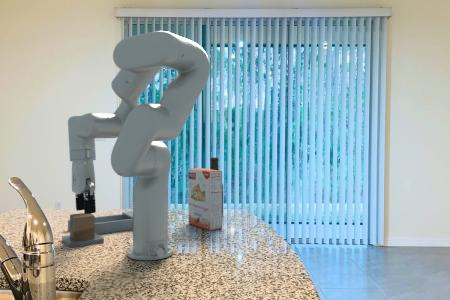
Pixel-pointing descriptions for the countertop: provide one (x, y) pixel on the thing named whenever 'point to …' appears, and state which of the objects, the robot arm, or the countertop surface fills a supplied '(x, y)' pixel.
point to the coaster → (82, 241)
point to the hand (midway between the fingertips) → (85, 211)
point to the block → (82, 226)
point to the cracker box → (205, 198)
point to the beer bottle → (215, 167)
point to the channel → (112, 223)
